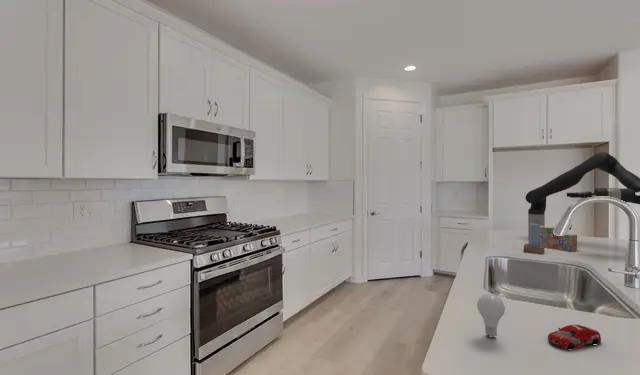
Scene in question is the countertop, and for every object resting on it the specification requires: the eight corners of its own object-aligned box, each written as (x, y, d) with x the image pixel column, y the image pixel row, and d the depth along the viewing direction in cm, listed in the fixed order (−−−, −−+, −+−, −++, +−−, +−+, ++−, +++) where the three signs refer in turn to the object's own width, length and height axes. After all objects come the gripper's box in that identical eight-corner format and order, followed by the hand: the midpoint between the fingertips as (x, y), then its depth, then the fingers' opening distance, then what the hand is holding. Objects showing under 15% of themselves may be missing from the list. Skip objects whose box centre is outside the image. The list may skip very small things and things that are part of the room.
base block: (525, 250, 187) (525, 243, 187) (544, 252, 182) (544, 245, 182) (523, 253, 180) (523, 246, 180) (543, 255, 175) (543, 247, 175)
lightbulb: (473, 331, 87) (472, 290, 87) (497, 331, 87) (496, 290, 87) (484, 342, 81) (484, 299, 81) (510, 342, 81) (509, 299, 81)
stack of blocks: (577, 250, 182) (577, 229, 182) (571, 252, 180) (571, 230, 179) (537, 244, 202) (537, 225, 201) (531, 245, 199) (531, 225, 199)
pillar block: (528, 244, 184) (528, 223, 183) (536, 244, 183) (537, 223, 182) (531, 245, 180) (531, 224, 179) (539, 246, 179) (539, 224, 178)
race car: (563, 353, 76) (563, 336, 76) (542, 342, 82) (542, 326, 82) (606, 345, 79) (606, 329, 79) (583, 335, 85) (583, 320, 85)
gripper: (602, 187, 174) (565, 187, 181) (611, 188, 161) (571, 188, 169) (602, 201, 174) (565, 201, 182) (611, 203, 161) (571, 202, 169)
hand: (568, 195), depth 175 cm, fingers open, 8 cm apart
